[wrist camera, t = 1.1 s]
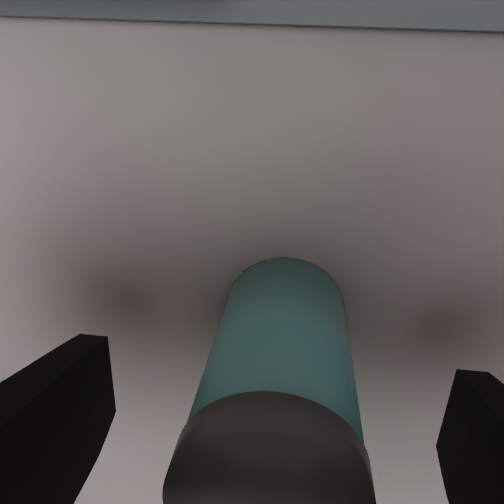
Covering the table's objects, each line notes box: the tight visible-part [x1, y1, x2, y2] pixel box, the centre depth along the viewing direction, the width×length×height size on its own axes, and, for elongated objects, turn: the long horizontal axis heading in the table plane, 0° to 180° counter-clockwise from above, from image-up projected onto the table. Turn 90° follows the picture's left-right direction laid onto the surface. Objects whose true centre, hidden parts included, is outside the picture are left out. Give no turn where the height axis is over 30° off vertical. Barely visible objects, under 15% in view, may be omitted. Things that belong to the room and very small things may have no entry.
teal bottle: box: [163, 258, 376, 504], centre depth 10 cm, size 3×3×6 cm
